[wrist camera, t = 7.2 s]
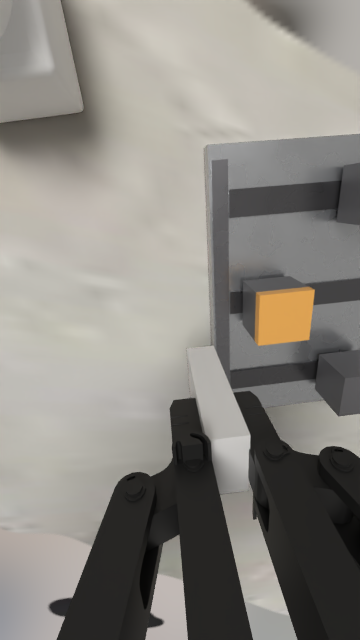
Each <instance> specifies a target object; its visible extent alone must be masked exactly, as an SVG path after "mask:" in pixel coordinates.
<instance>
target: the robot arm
mask: <svg viewBox="0 0 360 640" xmlns="http://www.w3.org/2000/svg"><path fill="white" fill-rule="evenodd" d="M186 351H187V364H188V377H189V390H190V395H191V398H189V399H181V400H174V401H173V403H172V405H171V407H170V417H171V430H172V442H173V444H172V453H173V458H172V461H171V463H170V464H169V466H168V467H167V468H166V469H164V470H163V471H161V472H160V473H158V474H155V475H153V476H151V477H150V476H149V475H148V474H145V473H142V472H135V473H131V474H129V475H126V476H125V477H123V478H122V479H121V480H120V481H119V482H118V484H117V485H116V487H115V489H114V492H113V494H112V497H111V500H110V502H109V505H108V507H107V510H106V513H105V515H104V518H103V520H102V523H101V526H100V528H99V531H98V533H97V536H96V539H95V541H94V544H93V546H92V549H91V552H90V554H89V557H88V560H87V562H86V565H85V567H84V570H83V572H82V575H81V578H80V580H79V583H78V585H77V588H76V591H75V594H74V596H73V598H72V601H71V604H70V606H69V609H68V611H67V614H66V617H65V620H64V622H63V624H62V627H61V630H60V632H59V635H58V638H57V640H145V637H146V632H147V627H148V621H149V616H150V611H151V605H152V600H153V595H154V589H155V584H156V578H157V573H158V568H159V562H160V557H161V552H162V546H163V543H164V542H166V541H168V540H170V539H172V538H174V537H175V536H177V535H179V534H180V546H181V559H182V571H183V583H184V596H185V608H186V620H187V631H188V640H253V638H252V633H251V629H250V625H249V620H248V616H247V612H246V607H245V603H244V598H243V594H242V590H241V585H240V581H239V577H238V572H237V568H236V563H235V559H234V555H233V550H232V546H231V542H230V537H229V533H228V528H227V524H226V520H225V515H224V511H223V507H222V502H221V498H220V494H228V493H235V492H243V491H249V482H250V485H251V487H252V490H253V520H254V519H256V517H258V520H259V523H260V526H261V529H262V532H263V535H264V538H265V541H266V544H267V547H268V550H269V554H270V557H271V560H272V563H273V566H274V569H275V572H276V575H277V578H278V581H279V584H280V587H281V590H282V593H283V596H284V600H285V603H286V606H287V609H288V612H289V615H290V618H291V621H292V624H293V627H294V630H295V633H296V636H297V639H298V640H360V458H359V457H358V456H357V455H355V454H354V453H352V452H351V451H349V450H347V449H344V448H342V447H336V446H331V447H326V448H324V449H323V450H321V452H320V455H319V456H318V455H311V454H304V453H300V452H297V451H294V450H292V449H291V447H290V446H289V445H288V444H287V443H285V442H283V441H282V440H280V438H279V436H278V435H277V433H276V431H275V429H274V427H273V425H272V423H271V421H270V419H269V417H268V416H267V414H266V412H265V410H264V408H263V407H262V404H261V402H260V400H259V399H258V397H257V396H256V395H254V394H253V393H252V392H251V391H243V392H234V393H233V391H232V389H231V387H230V384H229V382H228V379H227V377H226V375H225V372H224V370H223V367H222V365H221V362H220V360H219V358H218V355H217V353H216V350H215V348H214V345H212V346H203V347H193V348H186Z"/></svg>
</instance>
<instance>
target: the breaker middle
mask: <svg viewBox="0 0 360 640" xmlns="http://www.w3.org/2000/svg"><path fill="white" fill-rule="evenodd" d="M314 293H315V290H314V289H312V288H311V287H309V286H307V285H305V284H303V283H301V282H300V281H298V280H296V279H294V278H292V277H290V276H285V277H276V278H266V279H256V280H246V281H243V322H242V325H243V326H244V327H245V329H246V330H247V332H248V333H249V334H250V336H251V337H252V338H253V340H254V341H255V342H256V344H257V345H258V346H261V345H270V344H279V343H287V342H296V341H304V340H309V337H310V328H311V319H312V310H313V301H314Z"/></svg>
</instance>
